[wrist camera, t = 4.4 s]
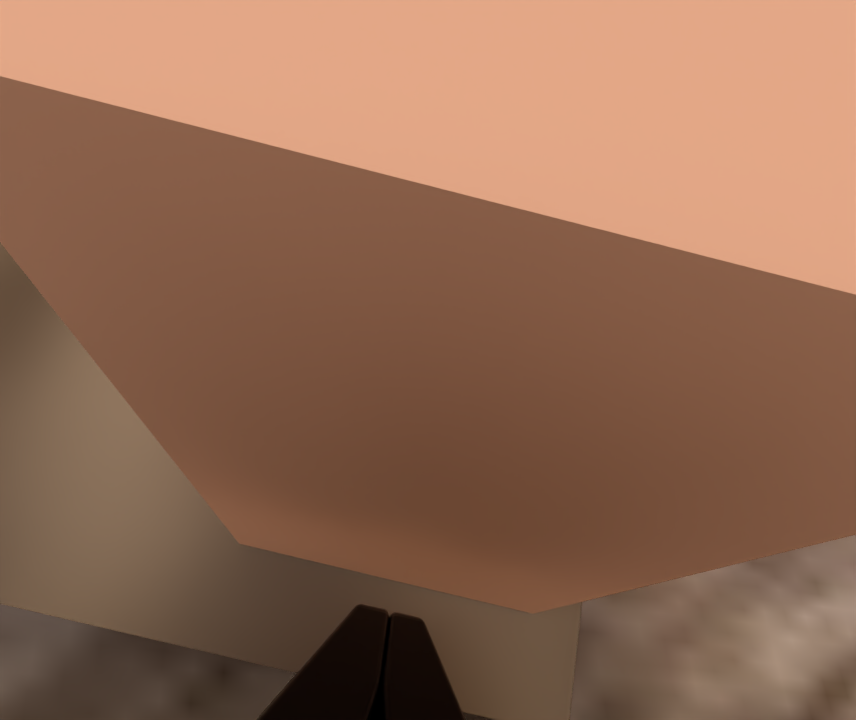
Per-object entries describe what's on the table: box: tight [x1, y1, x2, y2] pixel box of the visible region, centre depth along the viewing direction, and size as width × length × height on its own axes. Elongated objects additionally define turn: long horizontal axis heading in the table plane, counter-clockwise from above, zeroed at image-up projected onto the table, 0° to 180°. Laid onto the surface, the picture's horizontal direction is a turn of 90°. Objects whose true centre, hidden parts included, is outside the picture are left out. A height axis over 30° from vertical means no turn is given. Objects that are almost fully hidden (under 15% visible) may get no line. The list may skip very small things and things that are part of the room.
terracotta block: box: [0, 0, 856, 614], centre depth 9 cm, size 6×6×12 cm
